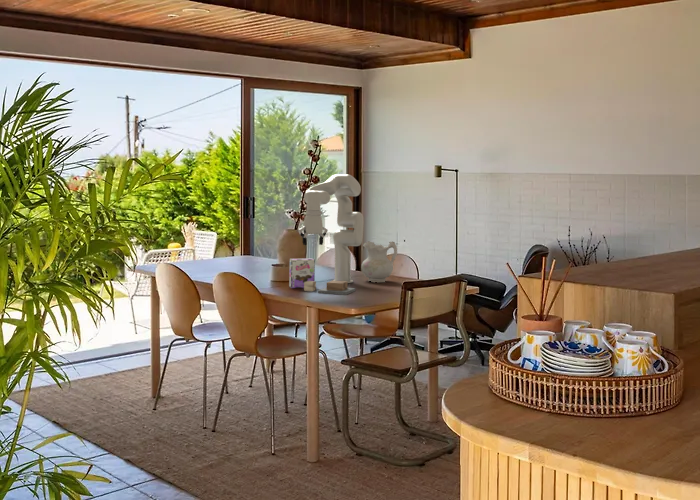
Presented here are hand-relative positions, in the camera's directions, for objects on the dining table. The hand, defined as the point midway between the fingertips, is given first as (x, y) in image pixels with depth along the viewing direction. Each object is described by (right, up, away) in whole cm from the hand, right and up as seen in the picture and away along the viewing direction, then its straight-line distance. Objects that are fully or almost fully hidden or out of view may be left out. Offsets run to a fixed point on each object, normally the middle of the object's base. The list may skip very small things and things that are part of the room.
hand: (312, 244), depth 461 cm
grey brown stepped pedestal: (+13, -26, +2) cm, 29 cm away
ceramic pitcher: (+38, -22, +49) cm, 66 cm away
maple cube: (-2, -25, +7) cm, 26 cm away
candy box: (-7, -24, +19) cm, 32 cm away
